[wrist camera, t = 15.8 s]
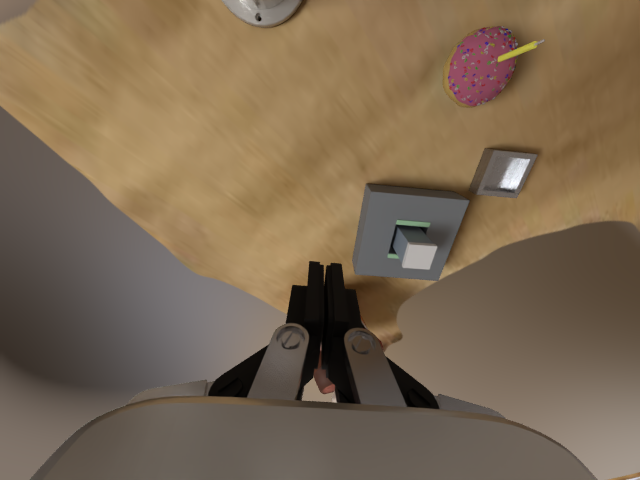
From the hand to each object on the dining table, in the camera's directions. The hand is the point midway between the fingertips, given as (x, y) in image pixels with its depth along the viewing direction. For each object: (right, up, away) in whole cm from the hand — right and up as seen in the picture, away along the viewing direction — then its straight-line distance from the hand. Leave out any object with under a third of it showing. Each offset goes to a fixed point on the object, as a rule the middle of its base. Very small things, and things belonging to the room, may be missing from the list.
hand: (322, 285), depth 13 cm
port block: (+15, +5, +34) cm, 37 cm away
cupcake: (+20, +27, +23) cm, 40 cm away
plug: (+15, +4, +33) cm, 36 cm away
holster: (+30, +14, +29) cm, 44 cm away
